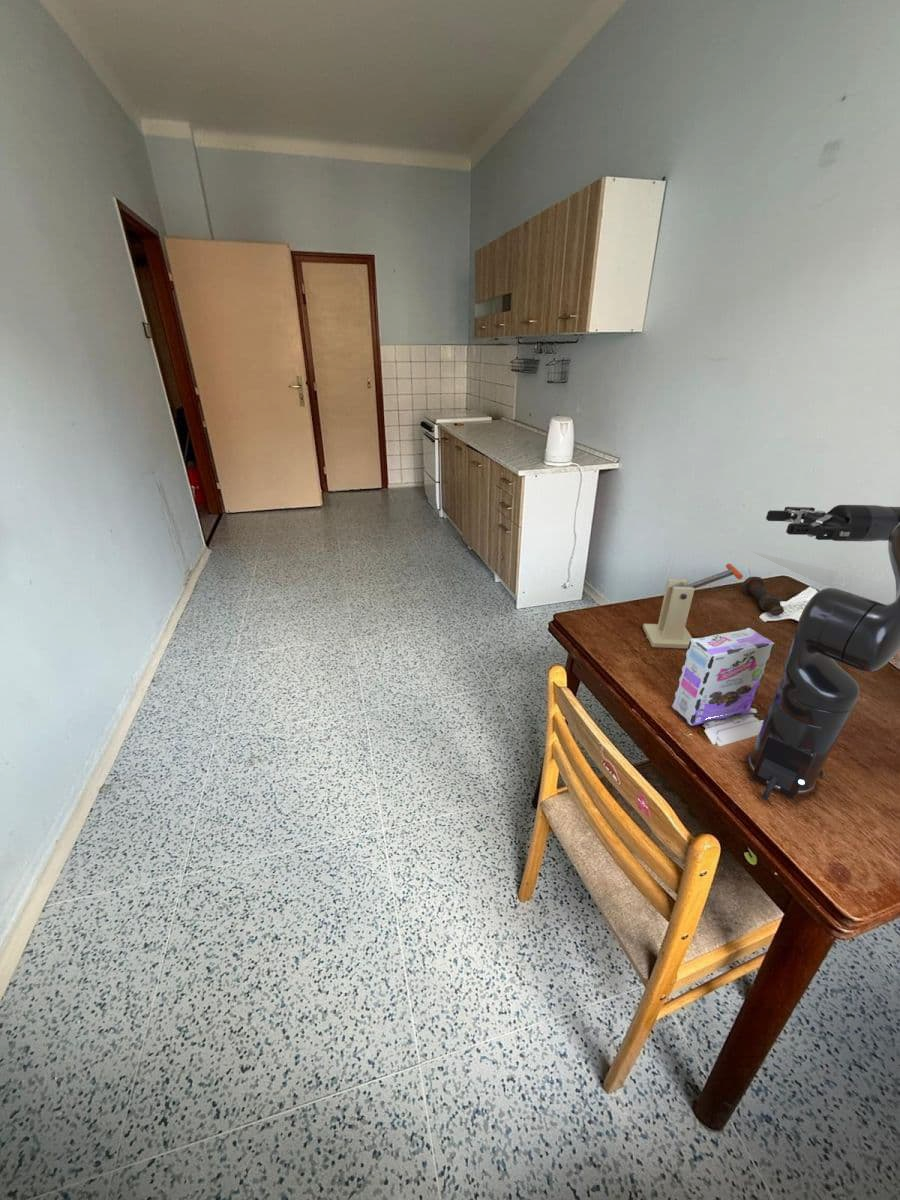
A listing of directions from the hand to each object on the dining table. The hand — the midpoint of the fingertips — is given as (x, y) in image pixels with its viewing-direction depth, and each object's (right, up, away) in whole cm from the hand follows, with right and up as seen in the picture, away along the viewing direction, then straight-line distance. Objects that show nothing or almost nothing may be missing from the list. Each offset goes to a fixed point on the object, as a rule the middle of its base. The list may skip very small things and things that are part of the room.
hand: (777, 522), depth 100 cm
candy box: (-18, -38, -7) cm, 43 cm away
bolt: (+16, -18, +30) cm, 38 cm away
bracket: (-16, -26, +16) cm, 34 cm away
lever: (-11, -13, +8) cm, 19 cm away
